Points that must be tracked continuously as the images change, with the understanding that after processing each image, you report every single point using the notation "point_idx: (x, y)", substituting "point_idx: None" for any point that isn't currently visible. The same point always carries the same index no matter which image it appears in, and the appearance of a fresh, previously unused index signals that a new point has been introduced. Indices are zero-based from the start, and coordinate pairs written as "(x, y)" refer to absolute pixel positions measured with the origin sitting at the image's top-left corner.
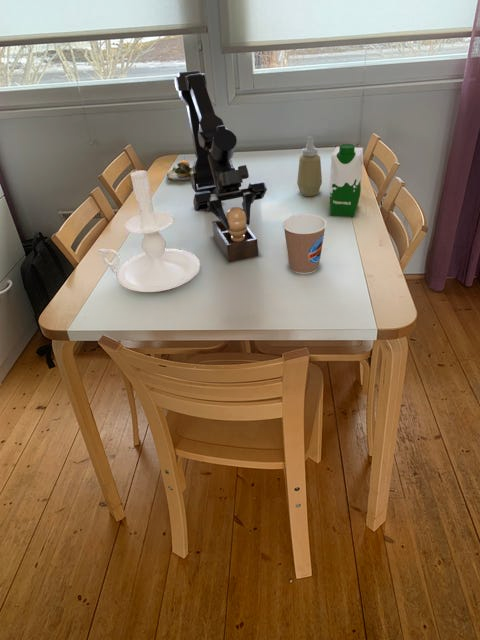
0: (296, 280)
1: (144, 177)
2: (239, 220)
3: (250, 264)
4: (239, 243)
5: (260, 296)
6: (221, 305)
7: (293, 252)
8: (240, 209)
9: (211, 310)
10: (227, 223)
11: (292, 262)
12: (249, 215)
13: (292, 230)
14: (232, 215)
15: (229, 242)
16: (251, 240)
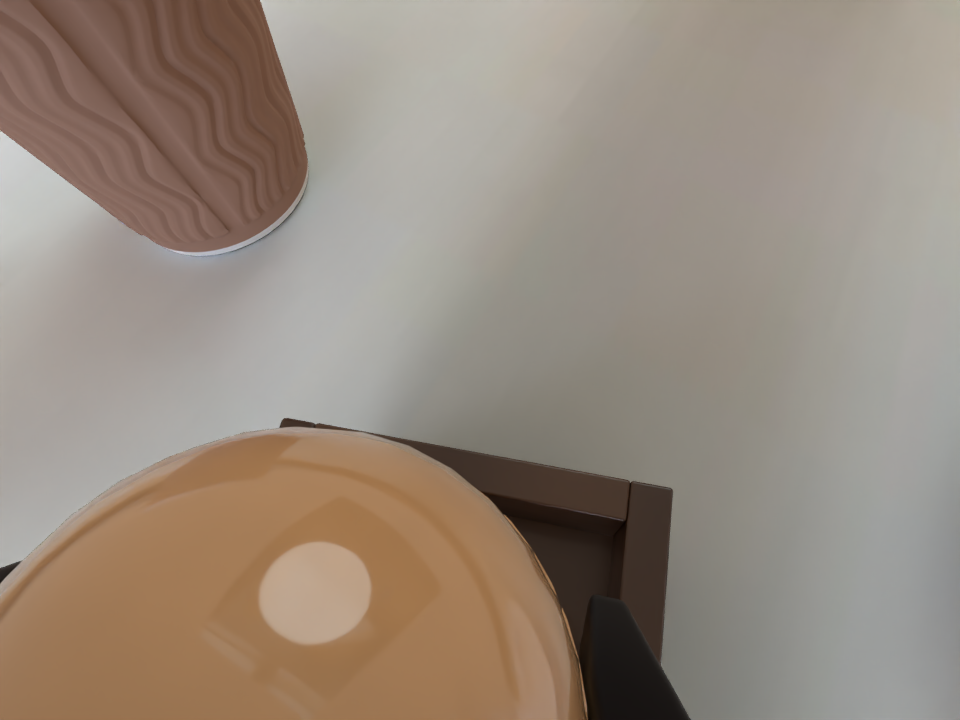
0: (359, 108)
1: None
2: (365, 433)
3: (480, 394)
4: (503, 457)
5: (613, 72)
6: (862, 88)
7: (259, 5)
8: (40, 581)
9: (935, 74)
10: (607, 656)
11: (291, 107)
12: (13, 567)
13: (14, 65)
14: (465, 535)
15: None
16: (351, 430)
